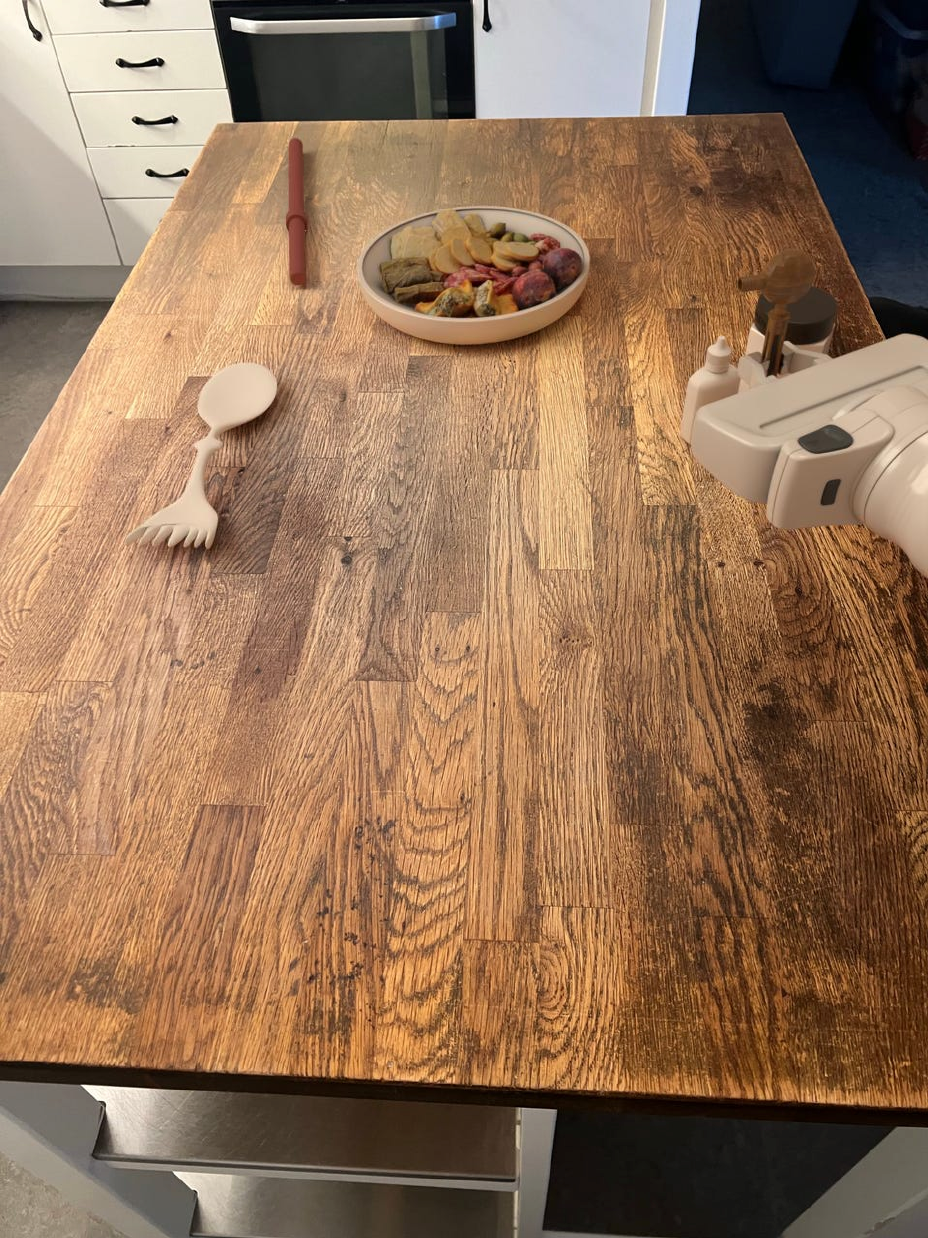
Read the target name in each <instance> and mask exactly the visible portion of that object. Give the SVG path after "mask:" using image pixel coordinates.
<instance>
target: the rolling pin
mask: <svg viewBox="0 0 928 1238" xmlns="http://www.w3.org/2000/svg"><path fill="white" fill-rule="evenodd" d="M303 147H304V146H303V142H302V140H301V139H299V138H298V137H293V138H291V139H290V140H289V143H288V211H287V212H286V215H285V227H286V230H287V231H288V279H289V282H290V283H291V285H294V286H296V285H301V284H303V285H304V284H305V283H307V282H306V281H307V259H306V258H307V255H306V252H307V251H306V232H305V230H307V231H308V228H309V218H308V214H307V212H306V210H305V186H304V184H305V181H304V180H305V179H304V148H303ZM301 286H302V285H301Z"/></svg>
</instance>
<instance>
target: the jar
mask: <svg viewBox="0 0 928 1238" xmlns="http://www.w3.org/2000/svg"><path fill="white" fill-rule="evenodd" d="M756 303H757V304H756V305H755V309H754V317H753V322H752V324H751V326H750V327H749V332H748V338H747V342H746V343H747V344H746V348H745V353H744V356H745V355H748V354H751V353H754V352H760V353H761V355H762V350H763V345H764V340H765V335H766V330H767V325H768V320H769V317H768V312H769V311H771V310H772V309H775V306H776V304H775V303H771V302H769V301H768V300H767V299H766V298H765V297H764V296H763V294H762V293H761V294H760V295H759V296H758V298H757V302H756ZM786 310H787V311H788V312H790V315H791V317H790V319H789V320H788V325H787V330H786V334H785V339H784V342H785V341H789V342H790V343H792V344H793V345H794V346H796V347H797V348H798V349H800V350H807V351H812V352H817V353H821V354H826V355H828V353H829V349H830V345H831V341H832V337H833V333H834V331H835V327H836V319H837V314H838V311H839V304H838V302H837V300H836V299H835V297H834V296H833V295H832V294H831V293H829V292H828V291H826V290H824V289H822V288H819V287H817V286H813V285H812V286H811V288H810V290H809V291H808V292H807V293H806V294H805V295H804V296H802V297H801V298H800V299H799V300H797V301H796V302H793V303H789V304H787V308H786ZM788 375H791V373H786V374H783V375H779V374H778V373H777V378H778V379H779V378H782V377H785V376H788ZM749 386H750V385H749V384H747V383H746V382H745V381H744V380H743V379H741V380H740V386H739V392H738V393H741V392H744V391H746V390H749V389H750V387H749Z"/></svg>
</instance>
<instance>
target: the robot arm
mask: <svg viewBox="0 0 928 1238" xmlns="http://www.w3.org/2000/svg"><path fill="white" fill-rule="evenodd" d="M769 364H770V360H769V359H768V358H766V357H765V356H762V355H761V353H760V352H754V353H751V354H748V355H745V354H744V355H742V356H740V357H739V358H738V364H737V367H736V368H737V373H738V375H739V377H740V378H741V379H743V380H744V381H745V382H746V383H747V384H749V385H750V386H749V387H750V389H749V390H746V391H744V392H741V393H738V394H735V395H733V396H730V397H727V398H724V399H722V400H719V401H716V402H713V403H710V404H707V405H705V406H702V407H700V408H699V409H698V411H697V413H696V416H695V420H694V424H693V430H692V437H691V445H690V449H691V454H692V456H693V458H694V459H695V460H696V461H697V462H698V463H699V464H700V465H701V467H703V469H705V470H706V471H707V472H708V473H709V474H710V475H712V477H714V479H716V480H717V481H718V482H719V483H721V484H722V485H723V486H724V487H725V488H727V489H728V490H729V491H731V492H732V493H733V494H734V495H736V496H737V497H740V498H741V499H743V500H745V501H747V502H750V503H754V504H760V505H766V508H765V509H766V510H765V517H766V519H767V521H768V522H769V524H771V525H772V526H773V527H775V528H777V529H778V530H781V531H793V530H794V531H795V530H802V529H810V528H818V527H819V528H820V527H829V526H830V527H831V526H859V525H864V527H866V528H867V529H868V530H870V531H871V532H872V533H873V534H875V535H876V536H878V537H880V538H882V539H885V540H888V541H891V542H892V543H894V544H895V545H897V546H898V547H899V548H900V549H901V550H902V551H903V552H904V554H905V555H906V556H907V558H908V560H909V561H910V563H911V565H912V566H913V567H914V569H916V570H917V572H919V573H920V574H921V575H922V576H923V577H924V578H926V579H927V580H928V339H927V338H925V337H924V336H921V335H917V334H911V333H901V334H897V335H895V336H893V337H890V338H888V339H887V338H886V339H885V340H882V341H879V342H876V343H873V344H871V345H868V346H865V347H862V348H859V349H857V350H854V351H851V352H848V353H846V354H843V355H840V356H838V357H835V358H832V357H831V356H830V355H829V354H827V355H826V354H821V353H817V352H812V351H807V350H800V349H798V348H797V347H796V346H794V345H793V344H792V343H790V342H789V341H785V342H784V344H783V348H782V353H781V358H780V362H779V367H778V374H779V375H783V374H786V373H791V375H788V376H785V377H782V378H779V379H778V378H776V377H775V376H774V375H771V376H768V377H767V370H768V368H769Z"/></svg>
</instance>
